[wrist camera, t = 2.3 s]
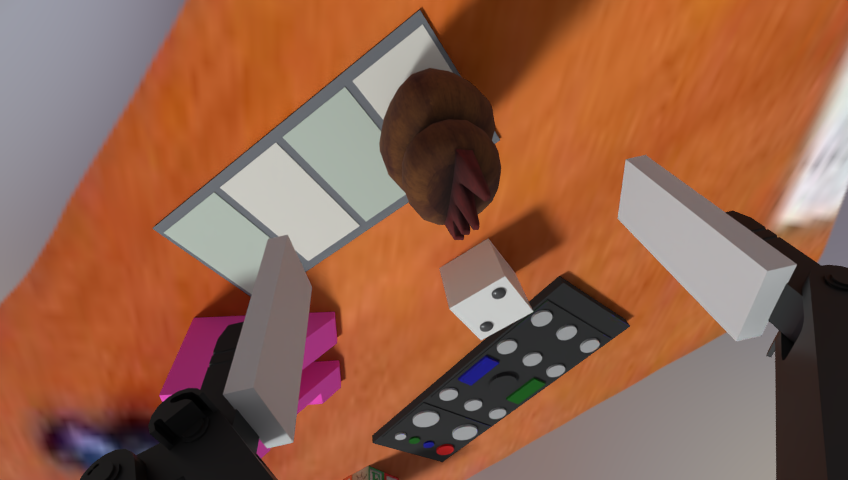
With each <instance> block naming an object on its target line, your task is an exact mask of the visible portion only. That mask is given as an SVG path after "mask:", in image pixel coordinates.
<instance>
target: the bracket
mask: <svg viewBox="0 0 848 480" xmlns="http://www.w3.org/2000/svg"><path fill="white" fill-rule="evenodd" d="M244 320H245V316H225V317H202V318H194V319H193V321H192V323H191V325H190V328H189V330H188V332H187V334H186V337H185V339H184V341H183V343H182V346H181V348H180V350H179V352H178V354H177V357H176V359H175V361H174V363H173V366H172V368H171V370H170V372H169V375H168V377H167V379H166V381H165V384H164V386H163V388H162V390H161V393H160V395H159V396H160V398H161V400H162V402H163V401H164V400H166V399H167V398H168V397H169V396H171V395H173V394H174V393H176V392H178V391H180V390H183V389H187V388H198V389H199V390H200V389H201V386H202V383H203V380H204V377H205V374H206V371H207V368H208V367H209V363H210V360H211V357H212V356H213V351H214V348H215V345H216V342H217V339H218V338H219V336H220V335H221V334H222V333H223V331H224V330H225V329H226V327H227V326H228V325H231V324H235V323H239V322H244ZM336 343H337V330H336V319H335V312H317V313H309V317H308V325H307V333H306V342H305V350H304V358H303V367H302V375H301V383H300V391H299V400H298V408H297V414H298V413H299V412H300V411H301V410H302V409H304V408H305V407H306V406H307V405H310V404H323V403H324V402H325V401H326V400H327V399H328V398H329V397H330V396H332V395H333V394H334V393H335V392H336V391H337V390H338V389H339V388H341V376H340V365H339V360H337V361H320V362H314V361H315V360H316V359H317V358H319V357H320V356H321V355H322V354H324V353H325V352H326V351H328V350H329V349H330V348H331V347H333V346H334V345H335V344H336ZM269 451H270V448H266V446H265V445H264V444H263V443H262V442H261V440H260V439H259V442H258V448H257V454H258V456H259V457H260V458H262V457H263V456H264V455H265V454H266V453H268V452H269Z"/></svg>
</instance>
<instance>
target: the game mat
mask: <svg viewBox="0 0 848 480" xmlns="http://www.w3.org/2000/svg"><path fill="white" fill-rule="evenodd" d="M428 68H434V69H439V70H445V71H450V72H453V73H455V74H456V75H458V76H460V74H459V72H458V71H457V69H456V68H455V66H454V64H453V63H452V61H451V59H450V58H449V56H448V55H447V53H446V51H445V50H444V48H443V47H442V45H441V43H440V42H439V40H438V38H437V37H436V35H435V34H434V32H433V30H432V29H431V27H430V25H429V24H428V22H427V21H426V19H425V17H424V16H423V14H422V13H421V11H420V10H419V11H417V12H416V13H415V14H414V15H412V16H411V17H410V18H409V19H408V20H406V21H405V22H404V23H403V24H401V25H400V26H399V27H398V28H397V29H395V30H394V31H393V32H392V33H390V34H389V35H388V36H387V37H386V38H384V39H383V40H382V41H381V42H379V43H378V44H377V45H376V46H375V47H373V48H372V49H371V50H370V51H368V52H367V53H366V54H365V55H364V56H362V57H361V58H360V59H359V60H357V61H356V62H355V63H354V64H353V65H351V66H350V67H349V68H348V69H346V70H345V71H344V72H343V73H342V74H340V75H339V76H338V77H337V78H335V79H334V80H333V81H332V82H331V83H329V84H328V85H327V86H326V87H324V88H323V89H322V90H321V91H320V92H318V93H317V94H316V95H315V96H313V97H312V98H311V99H310V100H309V101H307V102H306V103H305V104H304V105H302V106H301V107H300V108H299V109H298V110H296V111H295V112H294V113H293V114H291V115H290V116H289V117H288V118H287V119H285V120H284V121H283V122H282V123H280V124H279V125H278V126H277V127H275V128H274V129H273V130H272V131H271V132H269V133H268V134H267V135H266V136H264V137H263V138H262V139H261V140H260V141H258V142H257V143H256V144H255V145H253V146H252V147H251V148H250V149H249V150H247V151H246V152H245V153H244V154H242V155H241V156H240V157H239V158H238V159H236V160H235V161H234V162H233V163H231V164H230V165H229V166H228V167H227V168H225V169H224V170H223V171H222V172H220V173H219V174H218V175H217V176H216V177H214V178H213V179H212V180H211V181H209V182H208V183H207V184H206V185H205V186H203V187H202V188H201V189H200V190H198V191H197V192H196V193H195V194H194V195H192V196H191V197H190V198H189V199H187V200H186V201H185V202H184V203H183V204H181V205H180V206H179V207H178V208H176V209H175V210H174V211H173V212H172V213H170V214H169V215H168V216H167V217H165V218H164V219H163V220H162V221H161V222H159V223H158V224H157V225H156V226H154V227H153V229H154V230H155V231H157V232H158V233H160V234H161V235H163V236H164V237H165V238H167V239H168V240H170V241H171V242H173V243H174V244H175V245H177V246H178V247H180V248H181V249H183V250H184V251H186V252H187V253H188V254H190V255H191V256H193V257H194V258H196V259H197V260H199V261H200V262H201V263H203V264H204V265H206V266H207V267H209V268H210V269H212V270H213V271H214V272H216V273H217V274H219V275H220V276H222V277H223V278H225V279H226V280H227V281H229V282H230V283H232V284H233V285H235V286H236V287H238V288H239V289H240V290H242V291H243V292H245V293H246V294H248V295H249V296H252V292H253V289H254V285H255V282H256V278H257V275H258V271H259V268H260V265H261V261H262V258H263V254H264V251H265V247H266V244H267V240H268V239H270V238H275V237H279V236H284V235H288V236H289V238H290V240H291V243H292V245H293V247H294V249H295V251H296V253H297V256H298V258H299V260H300V262H301V264H302V266H303V268H304V271H305V272H306V271H308V270H309V269H311V268H312V267H314V266H315V265H317V264H318V263H319V262H321V261H322V260H324V259H325V258H327V257H328V256H330V255H331V254H333V253H334V252H336V251H337V250H339V249H340V248H342V247H343V246H345V245H346V244H348V243H349V242H350V241H352V240H353V239H355V238H356V237H358V236H359V235H361V234H362V233H364V232H365V231H367V230H368V229H370V228H371V227H373V226H374V225H376V224H377V223H378V222H380V221H381V220H383V219H384V218H386V217H387V216H389V215H390V214H392V213H393V212H395V211H396V210H398V209H399V208H401V207H402V206H404V205H405V204H407V203H408V202H409V201H408V199H407V196H406V193H405V192H404V191H403V190H402V189H401V188H400V187H399V186H398V185H397V184H396V183H395V182H394V180H393V179H392V178H391V177H390V176H389V175H388V172H387V169H386V167H385V164H384V161H383V158H382V156H381V153H380V147H379V142H380V136H381V130H382V125H383V120H384V117H385V114H386V112H387V109H388V107H389V104H390V102H391V100H392V98H393V97H394V95H395V93H396V92H397V90H398V88H399V87H400V86H401V85H402V84H403V83H404V82H405V80H406V79H407V78H408V77H409V76H410V75H411V74H413V73H416V72H419V71H422V70H425V69H428ZM460 77H461V76H460ZM499 140H500V139H499V137H498V136H497V134H496V132H495V131H494V135H493V138H492V142H493V143H494V144H495V143H497V142H498V141H499Z"/></svg>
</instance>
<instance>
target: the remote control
mask: <svg viewBox="0 0 848 480" xmlns="http://www.w3.org/2000/svg"><path fill="white" fill-rule="evenodd" d="M529 303H530V306H531V308H532V310H533V312H532V313H530V314H528V315H526V316H525V317H523V318H521V319H519V320H517V321H515V322H514V323H512V324H510V325H508V326H506V327H505V328H503V329H501V330H499V331H497V332H495V333H494V334H492V335H490V336H488V337H487V338H486V339H485V340H484V341H483V342H481V343H480V344H479V345H478V346H477V347H476V348H474V349H473V350H472V351H471V352H470V353H468V354H467V355H466V356H465V357H464V358H463V359H461V360H460V361H459V362H458V363H457V364H456V365H454V366H453V367H452V368H451V369H450V370H449V371H447V372H446V373H445V374H444V375H443V376H442V377H440V378H439V379H438V380H437V381H436V382H434V383H433V384H432V385H431V386H430V387H429V388H427V389H426V390H425V391H424V392H423V393H422V394H420V395H419V396H418V397H417V398H416V399H415V400H413V401H412V402H411V403H410V404H409V405H408V406H406V407H405V408H404V409H403V410H402V411H401V412H399V413H398V414H397V415H396V416H395V417H393V418H392V419H391V420H390V421H389V422H388V423H386V424H385V425H384V426H383V427H382V428H381V429H379V430H378V431H377V432H376V433H375V434H374V435H372V438H373V443H375V444H378V445H382V446H386V447H389V448H393V449H397V450H400V451H404V452H408V453H411V454H415V455H419V456H422V457H426V458H430V459H433V460H437V461H441V462H443V461H445V460H446V459H447V458H449V457H450V456H451V455H453V454H454V453H456V452H457V451H458V450H460V449H461V448H463V447H464V446H465V445H467V444H468V443H469V442H471V441H472V440H474V439H475V438H476V437H478V436H479V435H480V434H482V433H483V432H485V431H486V430H487V429H489V428H490V427H492V426H493V425H494V424H496V423H497V422H498V421H500V420H501V419H503V418H504V417H505V416H507V415H508V414H510V413H511V412H512V411H514V410H515V409H516V408H518V407H519V406H521V405H522V404H523V403H525V402H526V401H527V400H529V399H530V398H532V397H533V396H534V395H536V394H537V393H539V392H540V391H541V390H543V389H544V388H545V387H547V386H548V385H550V384H551V383H552V382H554V381H555V380H557V379H558V378H559V377H561V376H562V375H563V374H565V373H566V372H568V371H569V370H570V369H572V368H573V367H574V366H576V365H577V364H579V363H580V362H581V361H583V360H584V359H586V358H587V357H588V356H590V355H591V354H592V353H594V352H595V351H597V350H598V349H599V348H601V347H602V346H604V345H605V344H606V343H608V342H609V341H610V340H612V339H613V338H615V337H616V336H617V335H619V334H620V333H621V332H623V331H624V330H626V329H627V328H628V327H630V325H629V324H628V322H627V321H626V320H625V319H624V318H622V317H621V316H619V315H618V314H616V313H615V312H613V311H611V310H610V309H608V308H607V307H605V306H604V305H602V304H601V303H599V302H598V301H596V300H595V299H593V298H592V297H590V296H589V295H587V294H586V293H584V292H583V291H581V290H580V289H578V288H577V287H575V286H574V285H572V284H571V283H569V282H568V281H566V280H565V279H563V278H562V277H560V276H559V277H558V278H556V279H555V280H554V281H553V282H552V283H550V284H549V285H548V286H547V287H546V288H545V289H543V290H542V291H541V292H540V293H539V294H538V295H536V296H535V297H534V298H533V299H532V300H531V301H529Z"/></svg>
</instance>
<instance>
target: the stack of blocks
mask: <svg viewBox="0 0 848 480" xmlns="http://www.w3.org/2000/svg"><path fill="white" fill-rule="evenodd" d="M343 480H399V478H397V477H394V476H392V475H390V474H387V473H385V472H382V471H379V470H377V469H375V468H372V467H370V466H367V467H365V468H363V469H362V470H360V471H358V472H356V473H354V474H353V475H350V476H348V477H347V478H345V479H343Z"/></svg>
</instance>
